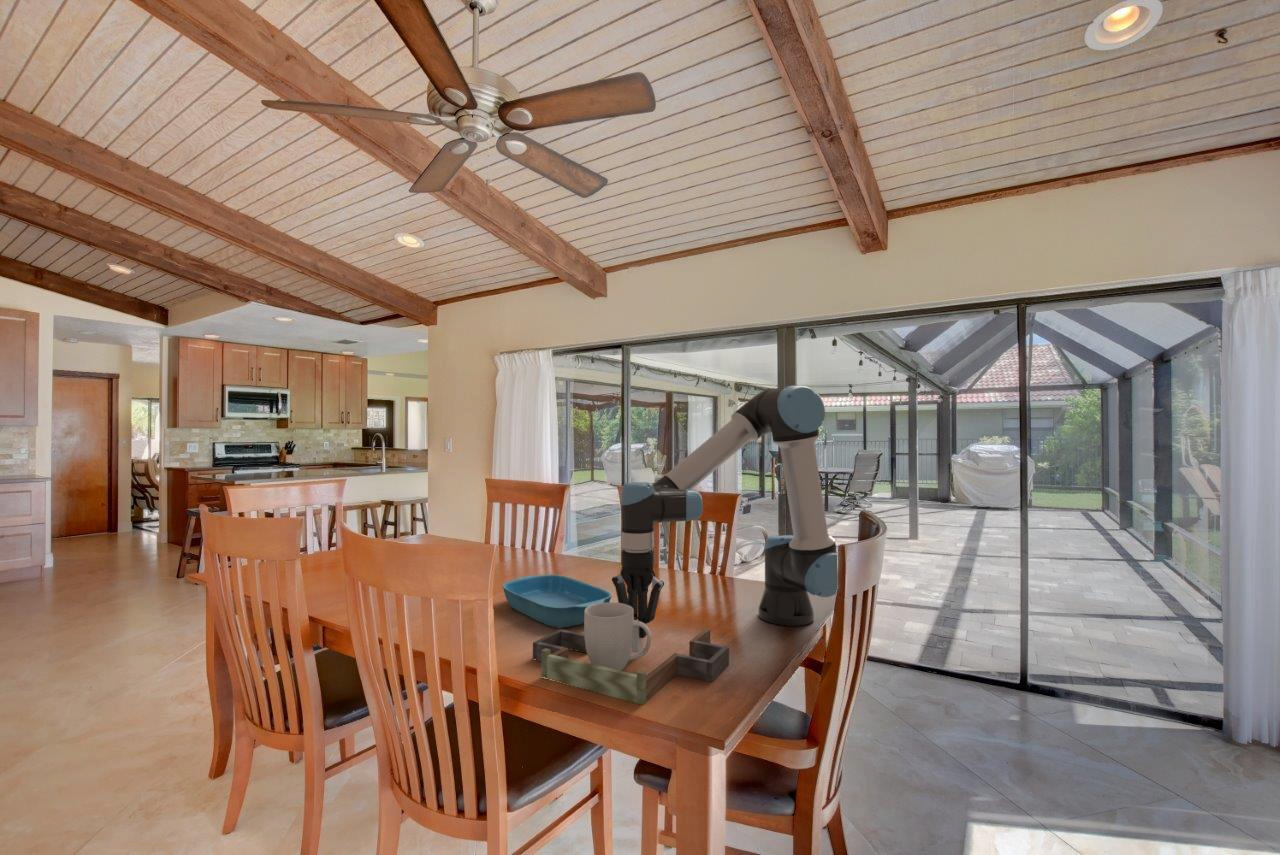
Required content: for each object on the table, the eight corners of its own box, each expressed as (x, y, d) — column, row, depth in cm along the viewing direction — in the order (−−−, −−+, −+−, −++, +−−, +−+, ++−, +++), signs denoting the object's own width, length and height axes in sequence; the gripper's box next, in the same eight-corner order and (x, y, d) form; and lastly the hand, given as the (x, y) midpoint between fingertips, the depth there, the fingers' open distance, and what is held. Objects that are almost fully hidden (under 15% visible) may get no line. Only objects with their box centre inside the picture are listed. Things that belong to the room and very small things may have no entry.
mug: (651, 658, 135) (651, 602, 135) (651, 679, 124) (651, 617, 124) (586, 658, 135) (586, 601, 135) (581, 678, 124) (581, 617, 124)
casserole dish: (626, 619, 163) (626, 594, 163) (559, 639, 148) (559, 610, 148) (552, 592, 190) (552, 570, 190) (490, 606, 175) (490, 582, 175)
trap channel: (741, 651, 139) (741, 626, 139) (680, 714, 109) (680, 682, 109) (599, 623, 159) (599, 601, 159) (512, 671, 128) (512, 643, 128)
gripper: (669, 548, 136) (670, 650, 136) (621, 543, 142) (621, 640, 142) (655, 555, 129) (655, 661, 129) (605, 549, 135) (605, 651, 135)
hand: (637, 650), depth 136 cm, fingers closed
